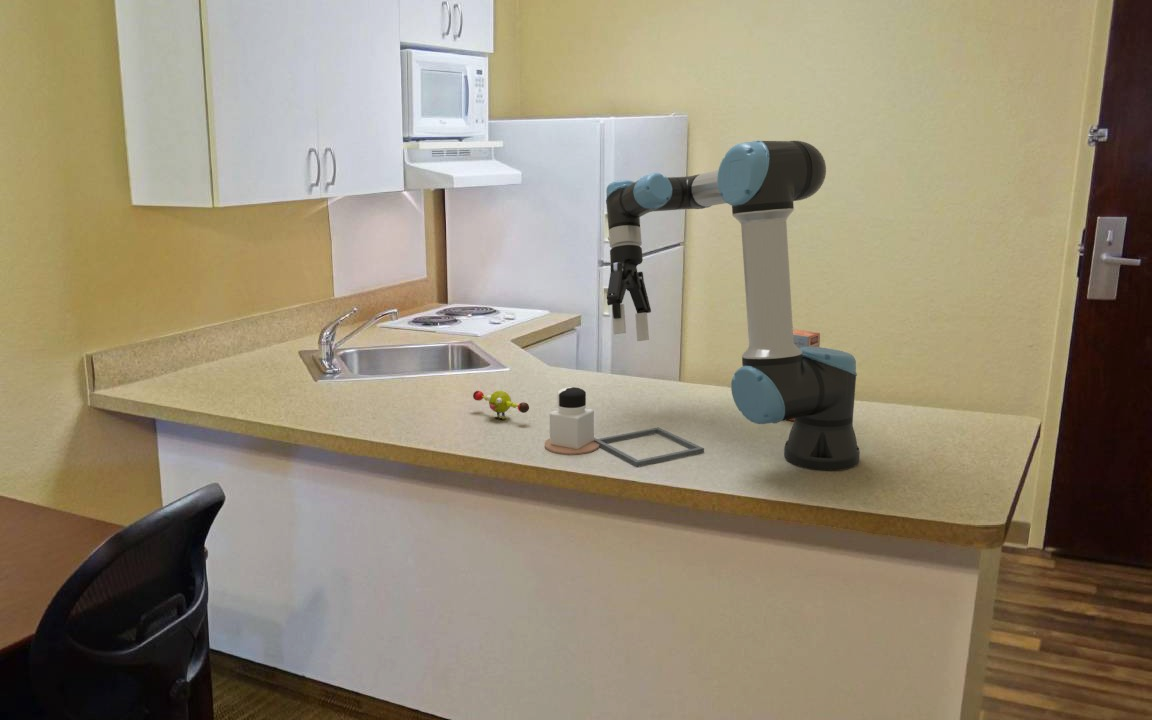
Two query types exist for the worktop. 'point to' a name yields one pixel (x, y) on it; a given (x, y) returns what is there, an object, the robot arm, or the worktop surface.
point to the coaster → (564, 450)
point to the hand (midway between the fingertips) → (631, 337)
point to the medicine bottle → (571, 420)
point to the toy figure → (500, 402)
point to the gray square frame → (692, 450)
